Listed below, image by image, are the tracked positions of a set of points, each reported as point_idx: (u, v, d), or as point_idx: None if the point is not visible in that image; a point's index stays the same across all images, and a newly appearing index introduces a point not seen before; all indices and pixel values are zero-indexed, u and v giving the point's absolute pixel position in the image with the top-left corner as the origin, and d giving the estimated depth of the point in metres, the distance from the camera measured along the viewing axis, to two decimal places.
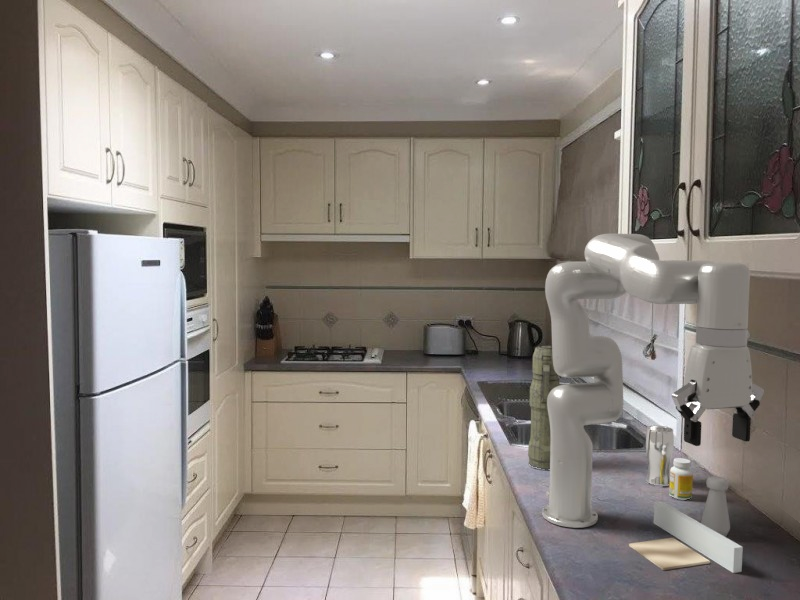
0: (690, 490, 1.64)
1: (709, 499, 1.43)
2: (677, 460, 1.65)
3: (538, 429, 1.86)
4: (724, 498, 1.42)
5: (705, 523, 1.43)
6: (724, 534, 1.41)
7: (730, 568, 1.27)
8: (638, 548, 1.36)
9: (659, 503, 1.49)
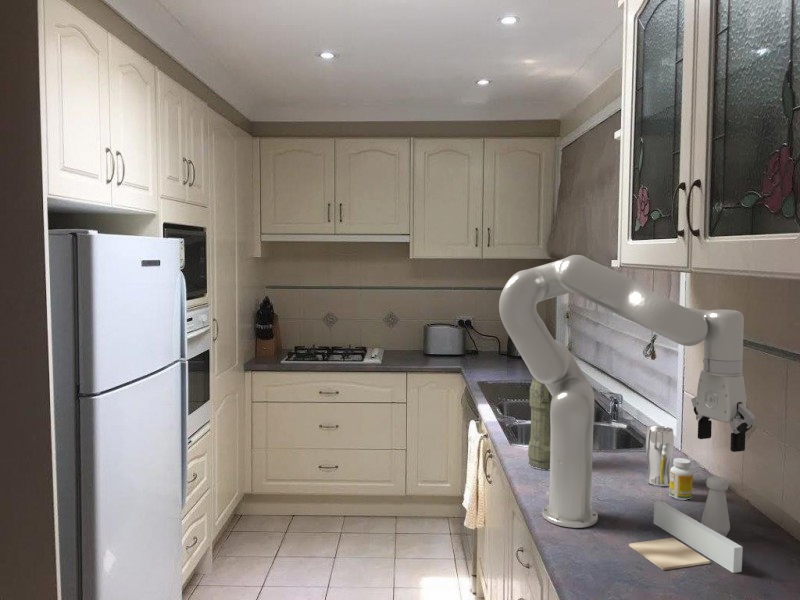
0: (690, 490, 1.64)
1: (709, 499, 1.43)
2: (677, 460, 1.65)
3: (538, 429, 1.86)
4: (724, 498, 1.42)
5: (705, 523, 1.43)
6: (724, 534, 1.41)
7: (730, 568, 1.27)
8: (638, 548, 1.36)
9: (659, 503, 1.49)
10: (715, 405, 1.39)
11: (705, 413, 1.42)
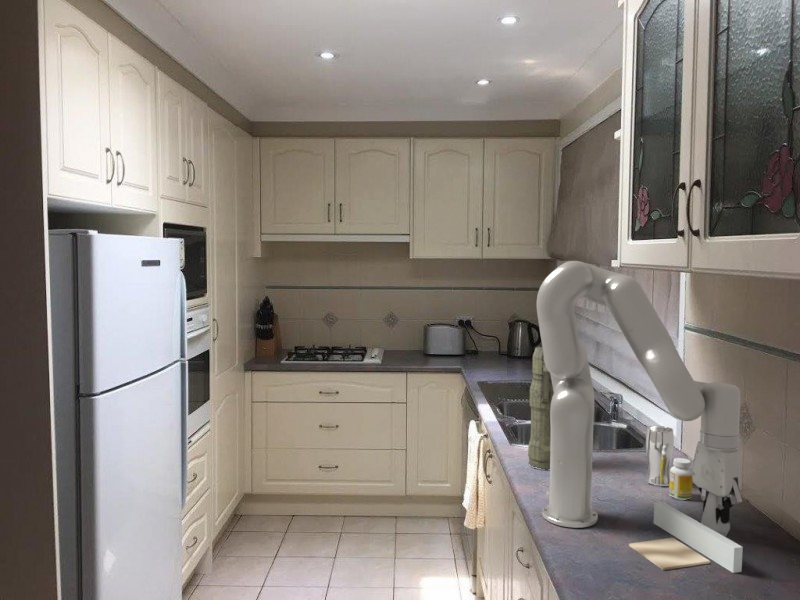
0: (690, 490, 1.64)
1: (709, 499, 1.43)
2: (677, 460, 1.65)
3: (538, 429, 1.86)
4: (724, 498, 1.42)
5: (705, 523, 1.43)
6: (724, 534, 1.41)
7: (730, 568, 1.27)
8: (638, 548, 1.36)
9: (659, 503, 1.49)
10: (711, 478, 1.41)
11: (701, 485, 1.44)
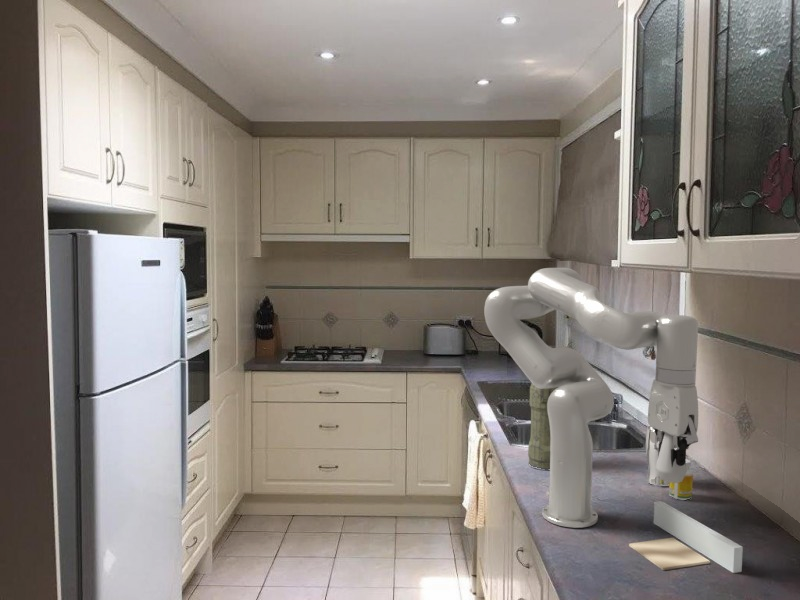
0: (690, 490, 1.64)
1: (665, 440, 1.32)
2: None
3: (538, 429, 1.86)
4: (680, 439, 1.32)
5: (660, 466, 1.32)
6: (680, 477, 1.31)
7: (730, 568, 1.27)
8: (638, 548, 1.36)
9: (659, 503, 1.49)
10: (666, 417, 1.30)
11: (656, 425, 1.33)
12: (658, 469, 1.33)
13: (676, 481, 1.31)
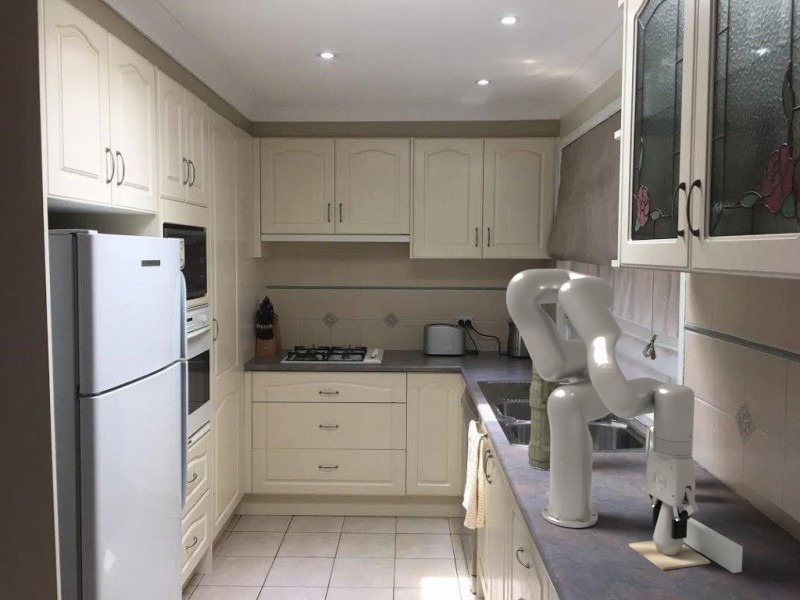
0: None
1: (662, 512, 1.34)
2: None
3: (538, 429, 1.86)
4: None
5: (657, 538, 1.34)
6: (677, 550, 1.32)
7: (730, 568, 1.27)
8: (638, 548, 1.36)
9: None
10: (663, 487, 1.31)
11: (653, 493, 1.34)
12: (655, 541, 1.34)
13: (673, 554, 1.32)
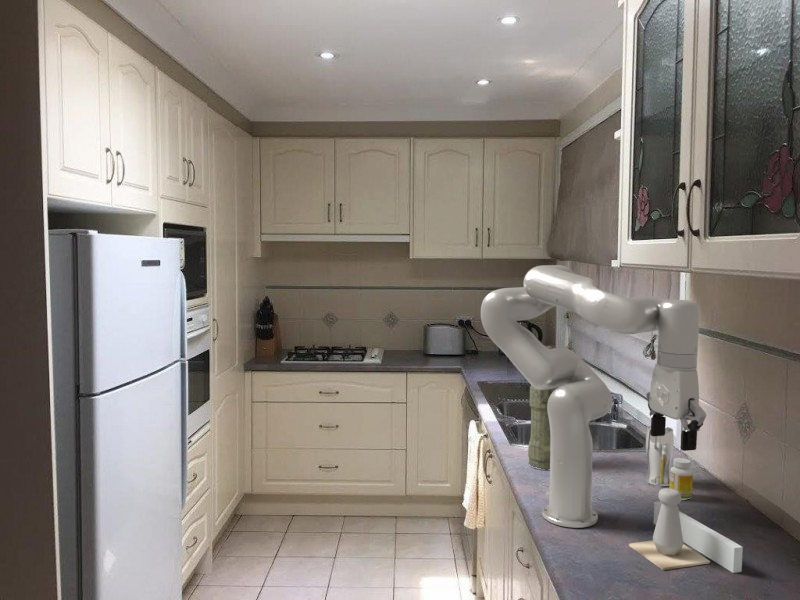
0: (690, 490, 1.64)
1: (661, 513, 1.34)
2: (677, 460, 1.65)
3: (538, 429, 1.86)
4: (677, 512, 1.33)
5: (657, 539, 1.34)
6: (677, 550, 1.32)
7: (730, 568, 1.27)
8: (638, 548, 1.36)
9: (659, 503, 1.49)
10: (667, 401, 1.31)
11: (657, 409, 1.34)
12: (655, 542, 1.34)
13: (673, 554, 1.32)
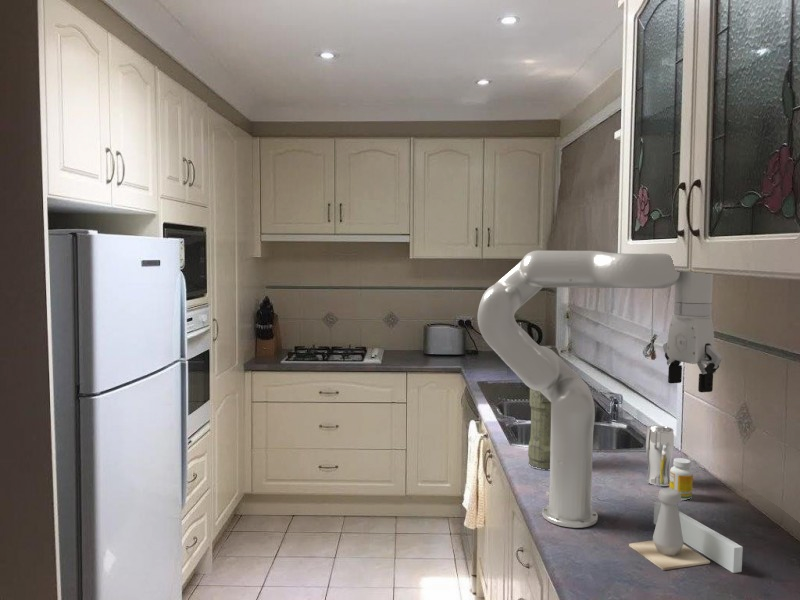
0: (690, 490, 1.64)
1: (661, 513, 1.34)
2: (677, 460, 1.65)
3: (538, 429, 1.86)
4: (677, 512, 1.33)
5: (657, 539, 1.34)
6: (677, 550, 1.32)
7: (730, 568, 1.27)
8: (638, 548, 1.36)
9: (659, 503, 1.49)
10: (684, 347, 1.42)
11: (675, 356, 1.45)
12: (655, 542, 1.34)
13: (673, 554, 1.32)
